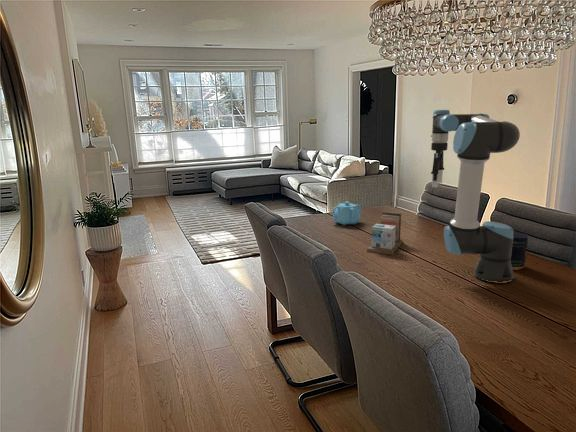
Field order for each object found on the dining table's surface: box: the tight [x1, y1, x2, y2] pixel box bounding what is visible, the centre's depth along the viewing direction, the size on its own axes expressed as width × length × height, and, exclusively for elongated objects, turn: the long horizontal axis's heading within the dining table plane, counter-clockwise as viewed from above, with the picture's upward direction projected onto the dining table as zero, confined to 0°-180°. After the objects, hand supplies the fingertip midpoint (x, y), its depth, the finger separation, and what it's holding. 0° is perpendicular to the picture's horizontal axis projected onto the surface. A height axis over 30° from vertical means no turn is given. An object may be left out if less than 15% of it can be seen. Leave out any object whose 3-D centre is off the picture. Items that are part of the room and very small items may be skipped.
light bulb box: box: [370, 223, 396, 249], centre depth 224 cm, size 11×7×11 cm, turn 63°
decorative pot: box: [331, 200, 362, 226], centre depth 275 cm, size 16×16×14 cm
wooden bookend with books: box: [366, 211, 404, 256], centre depth 228 cm, size 22×13×16 cm, turn 153°
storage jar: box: [511, 231, 529, 267], centre depth 197 cm, size 10×10×15 cm
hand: (436, 184), depth 223 cm, fingers open, 13 cm apart
